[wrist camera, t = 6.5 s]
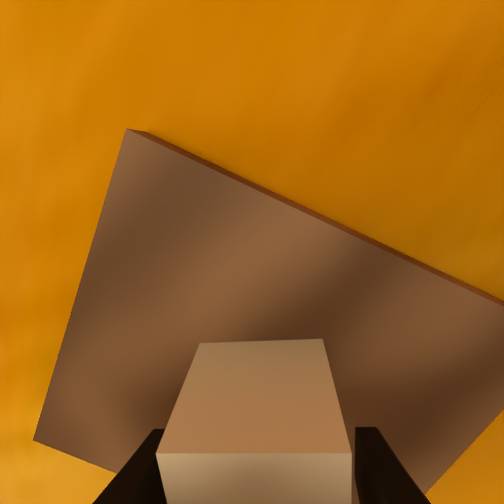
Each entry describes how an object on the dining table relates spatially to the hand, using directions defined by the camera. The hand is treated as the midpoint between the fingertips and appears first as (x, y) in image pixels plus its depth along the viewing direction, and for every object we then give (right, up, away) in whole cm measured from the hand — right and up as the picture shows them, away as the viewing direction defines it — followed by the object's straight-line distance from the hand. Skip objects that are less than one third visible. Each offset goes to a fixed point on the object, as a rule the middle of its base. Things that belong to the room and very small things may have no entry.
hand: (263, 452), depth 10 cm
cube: (0, +1, +2) cm, 2 cm away
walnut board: (0, +1, +4) cm, 4 cm away
